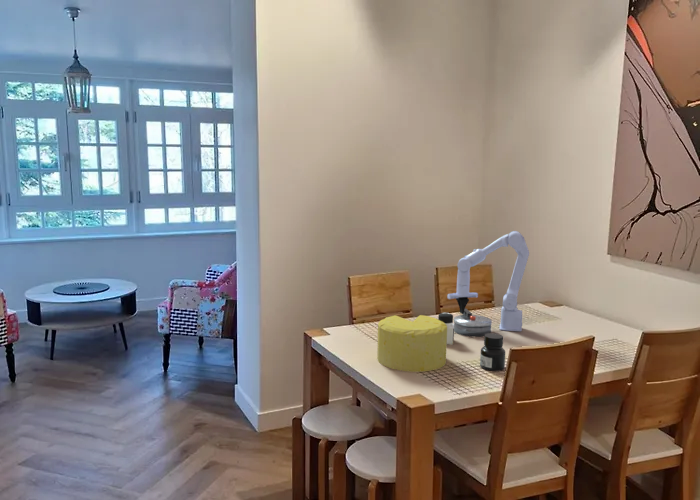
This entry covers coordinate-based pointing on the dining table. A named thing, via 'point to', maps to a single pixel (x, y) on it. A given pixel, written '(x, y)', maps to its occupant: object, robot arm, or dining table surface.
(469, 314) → the cooker lid
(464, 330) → the cooker pot
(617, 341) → the dining table surface
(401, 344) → the cheese
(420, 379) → the dining table surface
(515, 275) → the robot arm
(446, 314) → the medicine bottle
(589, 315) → the dining table surface
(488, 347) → the ink bottle
